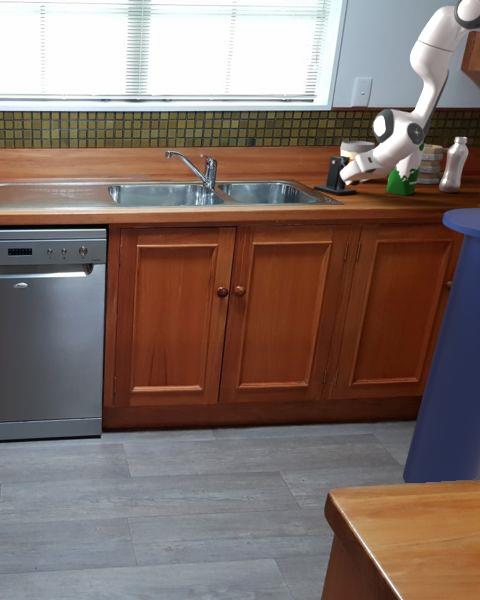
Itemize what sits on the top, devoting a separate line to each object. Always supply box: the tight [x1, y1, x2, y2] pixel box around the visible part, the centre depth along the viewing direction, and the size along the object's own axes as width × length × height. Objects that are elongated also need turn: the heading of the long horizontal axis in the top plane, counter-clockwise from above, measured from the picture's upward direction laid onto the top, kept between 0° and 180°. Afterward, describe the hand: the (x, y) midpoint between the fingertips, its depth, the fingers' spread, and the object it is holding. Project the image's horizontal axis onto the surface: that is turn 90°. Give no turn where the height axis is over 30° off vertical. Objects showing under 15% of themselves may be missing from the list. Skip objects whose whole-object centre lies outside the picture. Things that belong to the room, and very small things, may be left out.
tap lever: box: [340, 157, 360, 187], centre depth 220 cm, size 13×4×4 cm
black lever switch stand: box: [313, 155, 358, 197], centre depth 224 cm, size 12×9×13 cm
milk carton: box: [386, 139, 427, 197], centre depth 221 cm, size 9×9×20 cm
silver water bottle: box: [438, 136, 469, 194], centre depth 223 cm, size 6×7×20 cm
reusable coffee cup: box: [339, 140, 376, 163], centre depth 243 cm, size 13×13×15 cm
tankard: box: [416, 143, 451, 185], centre depth 242 cm, size 20×13×15 cm, turn 67°
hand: (352, 183), depth 219 cm, fingers closed on tap lever, 3 cm apart
